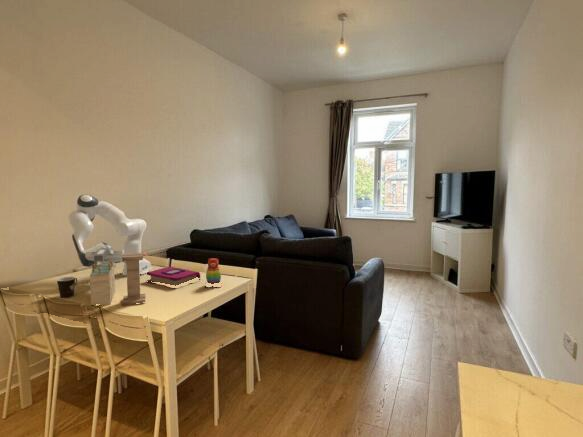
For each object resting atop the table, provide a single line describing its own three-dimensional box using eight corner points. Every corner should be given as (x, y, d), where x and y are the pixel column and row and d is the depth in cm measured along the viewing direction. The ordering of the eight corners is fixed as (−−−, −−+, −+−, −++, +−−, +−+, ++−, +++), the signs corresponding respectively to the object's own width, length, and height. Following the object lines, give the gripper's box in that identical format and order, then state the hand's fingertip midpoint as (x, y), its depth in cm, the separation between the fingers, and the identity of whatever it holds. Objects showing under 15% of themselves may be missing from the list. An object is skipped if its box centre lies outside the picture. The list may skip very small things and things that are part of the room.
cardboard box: (97, 293, 196) (96, 259, 194) (114, 292, 200) (113, 258, 198) (91, 306, 176) (89, 268, 174) (110, 304, 180) (109, 266, 177)
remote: (100, 253, 197) (100, 247, 197) (108, 252, 199) (108, 247, 198) (94, 261, 177) (94, 255, 177) (102, 261, 178) (102, 254, 178)
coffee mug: (62, 299, 186) (61, 282, 185) (55, 296, 190) (54, 279, 189) (84, 294, 195) (83, 277, 194) (77, 291, 200) (76, 275, 199)
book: (171, 275, 239) (170, 265, 238) (200, 281, 225) (200, 270, 224) (145, 282, 220) (145, 271, 220) (176, 289, 207) (175, 277, 206)
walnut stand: (123, 299, 187) (122, 253, 185) (145, 297, 191) (144, 252, 189) (122, 306, 177) (120, 257, 175) (144, 303, 181) (143, 256, 179)
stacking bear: (203, 288, 210) (203, 260, 208) (206, 283, 220) (205, 256, 218) (221, 287, 211) (221, 260, 209) (222, 283, 221) (222, 256, 219)
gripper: (87, 254, 204) (83, 246, 192) (125, 252, 211) (123, 244, 200) (87, 264, 201) (82, 257, 190) (125, 262, 209) (122, 254, 197)
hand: (103, 250), depth 195 cm, fingers closed on remote, 4 cm apart
